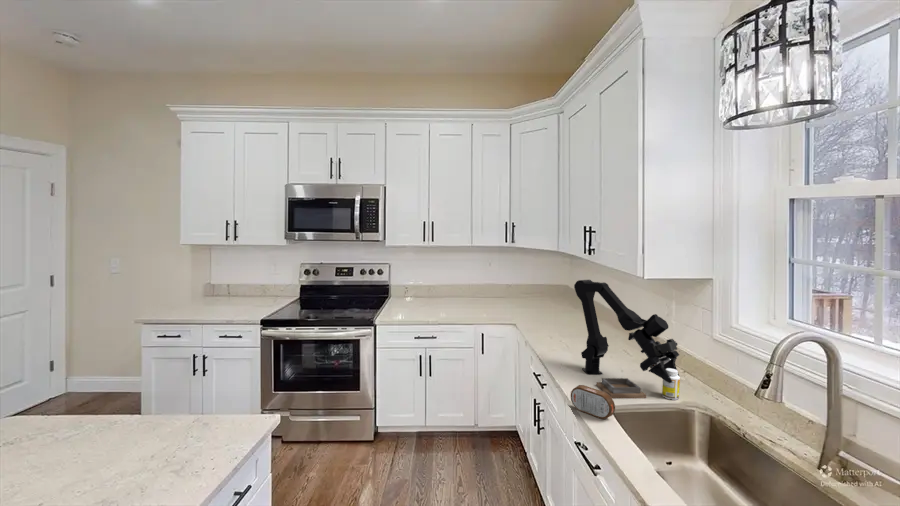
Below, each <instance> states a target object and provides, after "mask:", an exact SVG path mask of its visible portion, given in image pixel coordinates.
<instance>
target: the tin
mask: <svg viewBox="0 0 900 506" xmlns="http://www.w3.org/2000/svg"><path fill="white" fill-rule="evenodd" d="M570 401H571V403H572V405H573V407H574V408H575V409H576V410H578V411H580V412H582V413H584V414H588V415H590V416H593V417H595V418H597V417H598V419H602V420H604V419H608V418H609V417H612V416H613V415H614V414H615V412H616V405H615V401H614V398H611V397H610V396H609V395H608V394H607V393H605V392H603V391H602V390H599V389H597V388H592V387H590V386H587V385H584V384H579V385H577V386H576V387H574V388H573V389H572V390H571V391H570Z"/></svg>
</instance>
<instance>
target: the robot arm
mask: <svg viewBox="0 0 900 506" xmlns="http://www.w3.org/2000/svg"><path fill="white" fill-rule="evenodd" d="M573 287H574V292H575V294H576V296H577V298H578V299H579V300H580V302H581V305H582V311H583V316H584V321H585V325H586V330H587V334H588V335H587V339H586V348H585V349H583V351H581V352H580V353H581V354H580V355H581V358H582V359H584V360H585V365H584V367H583V368H582V367H581V368H582V371H583V372H585V373H586V374H587V375H603V372H602V371H601V370H600V364H601V363H600V362H601V358H604V357H605V355H606V354H607V352H608V350H609V346H610V345H609V343H608V337H607V336H603V335H602V333H601V330H600V326H599V321H598V316H597V312H596V307H595V302H594V298H595V294H596V293H598V294H599V295H600V296H601V298H602V299H603V300H604V301H605V302H606V303H607V305H608V306H609V308H611V310H612V311H613V312H614V313H615V315H616V316H617V322H619V324H620V326H621V327H622V329H623V330H625V331H627V332H628V331H633V330H635V331H634V332H629V333H628V338H627V340H628V341H633V340H634V341H635V342H636V343H637V344H638V346H639V348H641V350H640V353H641V354H645V355H646V356H647V358H646V359H644V360H642V362H640V363H639V364H640V365H639V368H640V369H641V370H642V372H645V371H647V372H649V373H652V374H654V375H655V376H656V377H659V378H660V379H662V380H663V379H664V380H665V381H667V382H669V383H671V382H672V380H671V378H670V376H669V375H668V373H667V372H666V369H667V368H671V369H676V370H677V371H678V368H677V365H676V360H677V359H678V357H679V356H680V354H679V352H678V351H677V350H678V342H676V340H675V339H674V338H669V339H666V342H664V343H661V342H660V341H658V340H657V341H656V340H655V339H654V338H657V337H659V336H660V335H661V334H663V333H664V332H665V331H667V330H668V329H669V323H668V322H667V321H666V319H663V317H661V316H658V314H656V313H654V314H652V315H651V316H650V317H649V318H648V319H644V318H642V317H641V316H640V315H639V314H638V313H636V312H635V311H634V310H632V309H630V308H628V307H627V306H626V304H624V302H622V300H621V299H620V298H619V297H618V295H617V294H616V293H615V292H614V291H613V290H612V289H611V288H610V286H609V284H608V283H606V282H603V281H602V282H599V281H593V280H591V279H578V280H576V282H575V283H574V286H573ZM641 328H642V329H641ZM678 376H679V377H680V378H681V376H680V374H679V373H678Z"/></svg>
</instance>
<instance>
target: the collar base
mask: <svg viewBox="0 0 900 506" xmlns="http://www.w3.org/2000/svg"><path fill="white" fill-rule="evenodd" d="M595 386H597V387H598V388H599V389H600V391H602V392H605V393H607V394H608V395H609V396H610V397H611V398H612V399H647V394H646V393H644V392H643V391H642V390H641V389H642V388H641V387H640V386H639V385H637V384H636V383H634V382H633V381H632V380H631V379H629V378H625V377H623V378H620V377H618V378H617V377H616V378H615V377H613V378H612V377H610V378H609V377H607V378H606V377H605V378H601V381H597V382H596V385H595Z"/></svg>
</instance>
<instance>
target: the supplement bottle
mask: <svg viewBox="0 0 900 506" xmlns="http://www.w3.org/2000/svg"><path fill="white" fill-rule="evenodd" d="M666 372H667V373H668V375H669V376H670V378H671V380H672V382H671V383H669V382H667V381H665V380H664V379H662V386H661V387H662V388H661V391H662V392H661V395H662V396H661V397H663V398H664V397H665V399H667V400H670V399H672V401H675V400H678V399H680V384H681V376H680V375H679V376H680V377H679V376H678V374H679V372H678V369H677V370H676V369H671V368H667V369H666Z"/></svg>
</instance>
